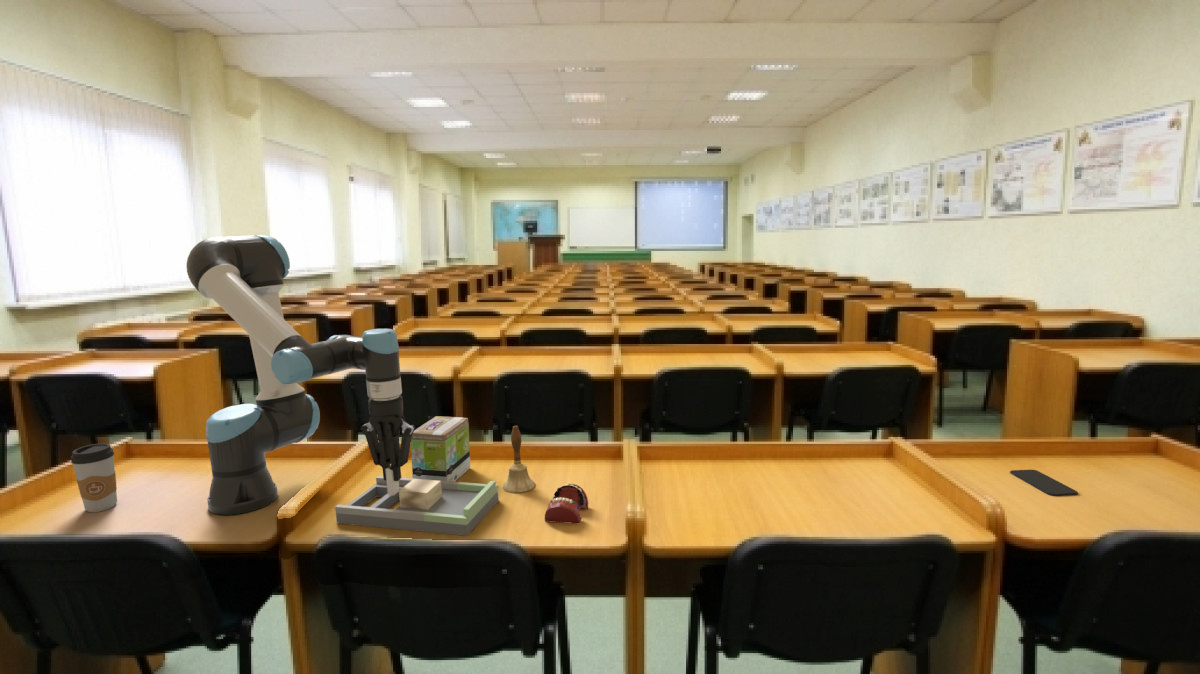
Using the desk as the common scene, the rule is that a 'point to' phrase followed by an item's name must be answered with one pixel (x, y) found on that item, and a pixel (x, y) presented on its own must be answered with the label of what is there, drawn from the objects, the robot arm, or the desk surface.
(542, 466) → the desk surface
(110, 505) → the coffee cup
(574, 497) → the teeth model
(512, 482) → the hand bell
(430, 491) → the block
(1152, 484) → the desk surface
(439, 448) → the tea box
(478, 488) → the lane deck
